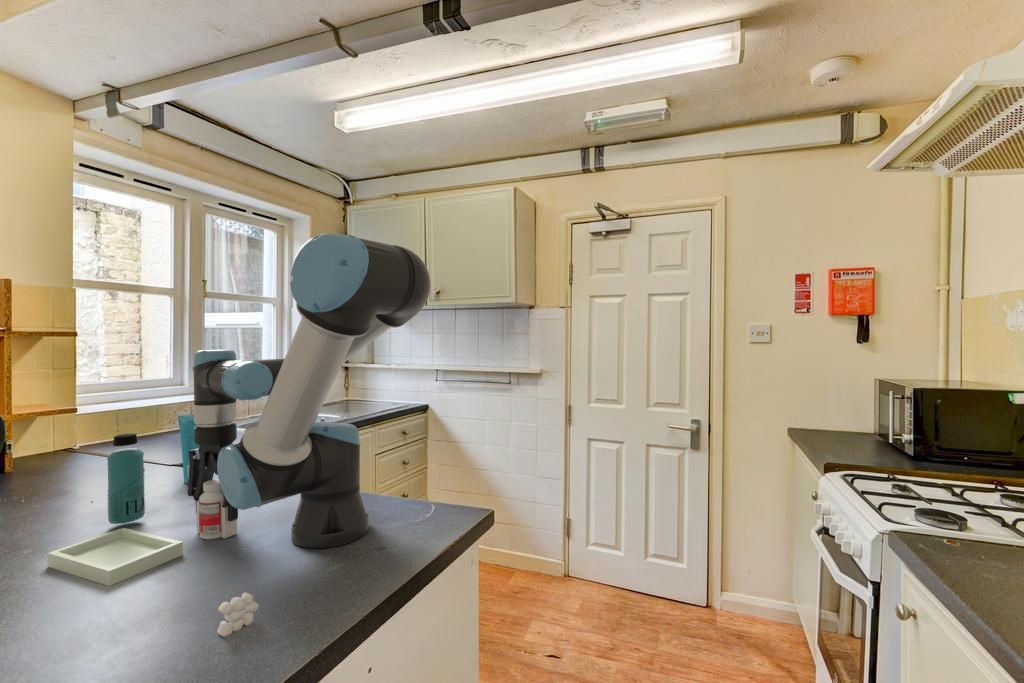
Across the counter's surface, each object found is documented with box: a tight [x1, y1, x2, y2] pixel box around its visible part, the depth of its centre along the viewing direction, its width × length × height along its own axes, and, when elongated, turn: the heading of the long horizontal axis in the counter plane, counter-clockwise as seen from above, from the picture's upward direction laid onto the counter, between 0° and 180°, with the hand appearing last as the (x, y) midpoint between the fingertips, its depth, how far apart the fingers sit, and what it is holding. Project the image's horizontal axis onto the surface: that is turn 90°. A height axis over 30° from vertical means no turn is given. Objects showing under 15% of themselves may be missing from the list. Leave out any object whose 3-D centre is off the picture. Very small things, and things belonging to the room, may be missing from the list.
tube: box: [177, 414, 200, 484], centre depth 135 cm, size 7×5×19 cm, turn 152°
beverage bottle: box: [106, 433, 146, 525], centre depth 103 cm, size 6×7×20 cm
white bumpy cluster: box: [216, 591, 260, 638], centre depth 67 cm, size 5×1×4 cm, turn 148°
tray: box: [47, 527, 184, 587], centre depth 87 cm, size 18×12×2 cm, turn 68°
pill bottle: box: [199, 478, 225, 540], centre depth 99 cm, size 6×6×11 cm
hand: (216, 532), depth 99 cm, fingers open, 7 cm apart
